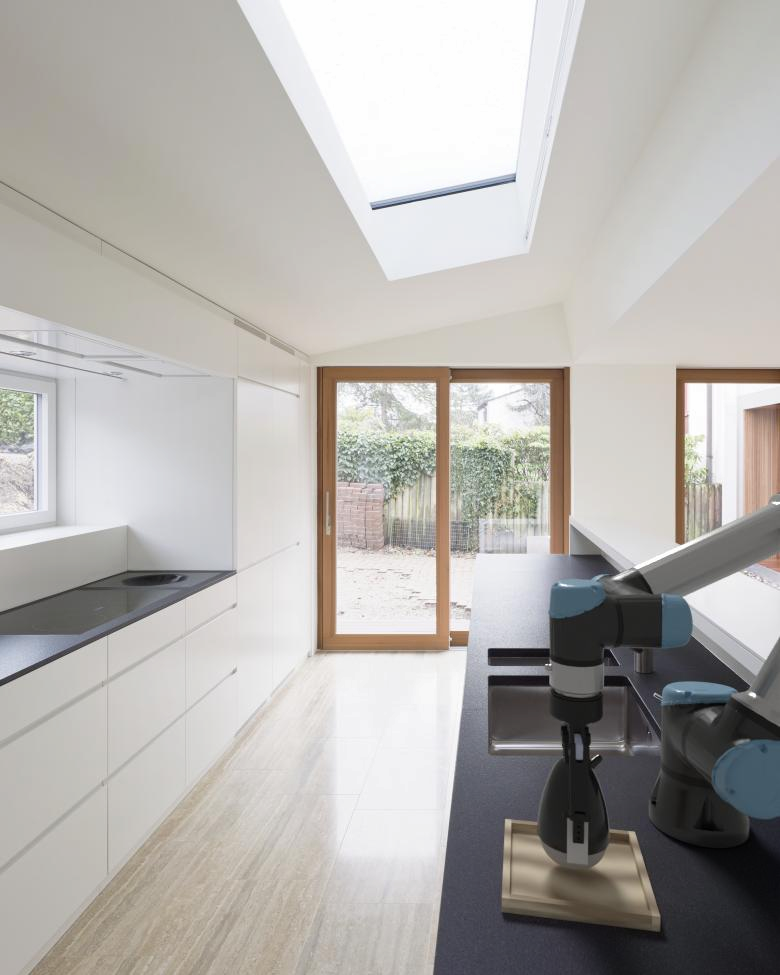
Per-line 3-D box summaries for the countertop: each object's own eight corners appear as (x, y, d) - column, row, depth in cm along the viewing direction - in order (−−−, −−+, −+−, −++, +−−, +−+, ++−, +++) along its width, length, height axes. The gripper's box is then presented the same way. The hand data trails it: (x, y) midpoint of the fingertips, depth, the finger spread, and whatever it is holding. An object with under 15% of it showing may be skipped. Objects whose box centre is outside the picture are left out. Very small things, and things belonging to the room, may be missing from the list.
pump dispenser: (626, 867, 96) (627, 762, 96) (570, 889, 91) (571, 778, 91) (576, 832, 105) (577, 736, 105) (522, 850, 101) (523, 749, 100)
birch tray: (505, 830, 110) (505, 818, 110) (634, 844, 106) (634, 831, 106) (501, 912, 90) (501, 897, 90) (660, 931, 87) (660, 916, 87)
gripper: (546, 663, 109) (544, 798, 110) (552, 716, 87) (550, 885, 88) (594, 666, 108) (593, 803, 109) (613, 721, 85) (611, 892, 86)
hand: (574, 840), depth 98 cm, fingers closed on pump dispenser, 10 cm apart
